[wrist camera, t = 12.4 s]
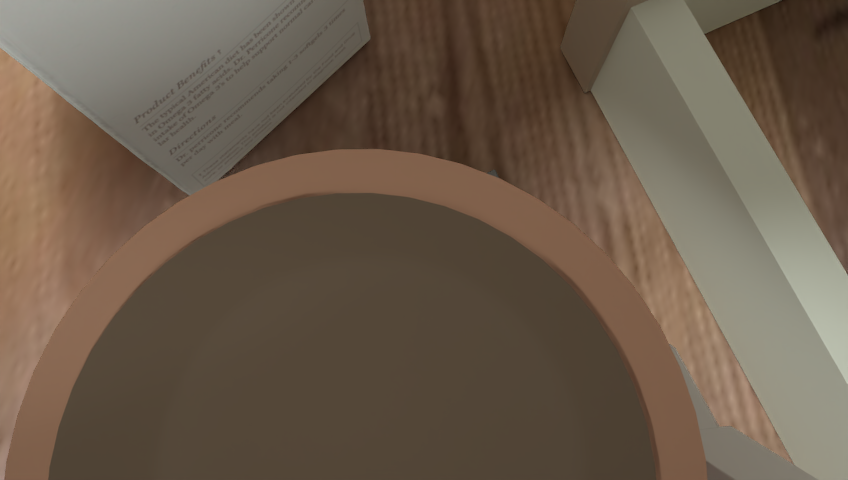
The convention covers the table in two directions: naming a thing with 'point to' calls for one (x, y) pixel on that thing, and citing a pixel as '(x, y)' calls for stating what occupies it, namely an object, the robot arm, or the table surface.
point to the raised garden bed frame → (726, 208)
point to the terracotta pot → (358, 340)
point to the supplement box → (184, 69)
